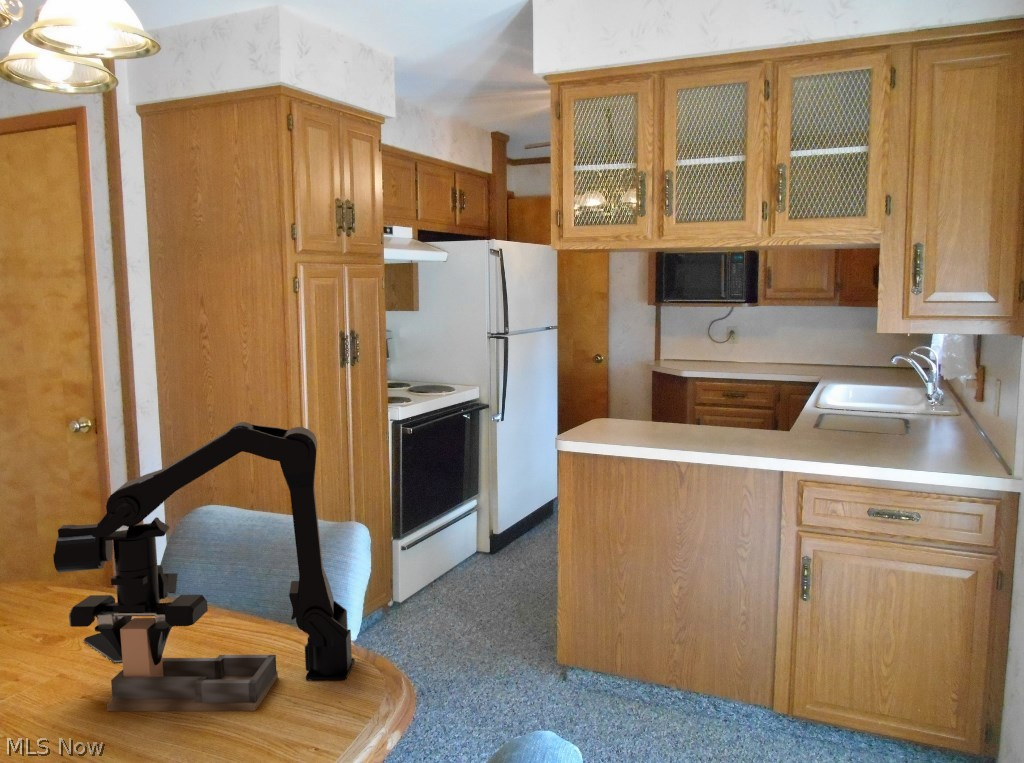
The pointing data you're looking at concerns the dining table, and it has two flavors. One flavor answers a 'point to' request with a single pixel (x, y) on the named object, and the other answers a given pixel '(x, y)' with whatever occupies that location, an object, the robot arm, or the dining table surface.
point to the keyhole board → (198, 685)
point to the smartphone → (103, 647)
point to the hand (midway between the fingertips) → (143, 663)
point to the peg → (138, 649)
